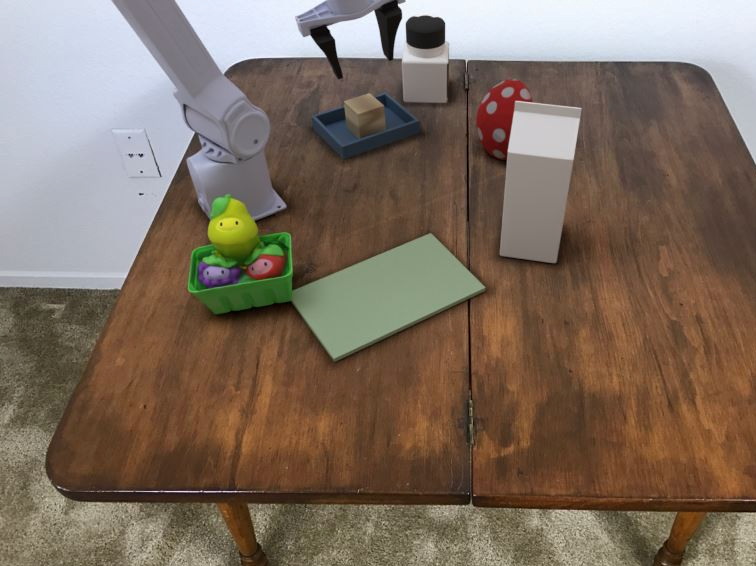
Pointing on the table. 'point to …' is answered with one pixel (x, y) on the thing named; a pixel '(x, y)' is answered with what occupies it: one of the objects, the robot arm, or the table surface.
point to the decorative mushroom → (499, 116)
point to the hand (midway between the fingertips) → (363, 66)
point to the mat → (383, 295)
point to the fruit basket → (240, 262)
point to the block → (364, 115)
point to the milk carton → (538, 179)
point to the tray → (349, 145)
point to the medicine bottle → (425, 60)
